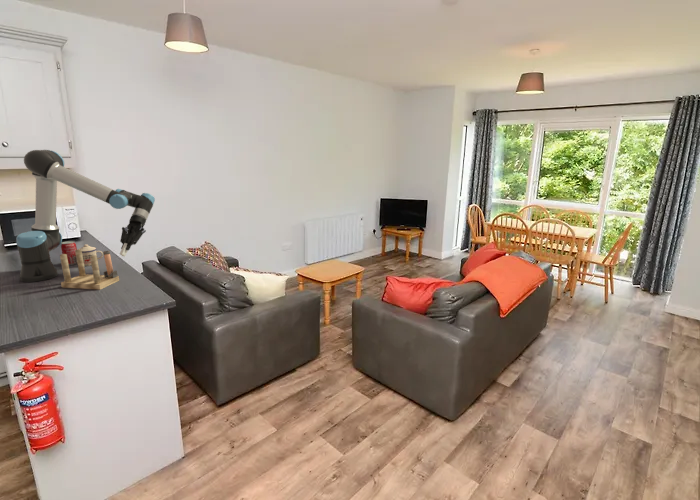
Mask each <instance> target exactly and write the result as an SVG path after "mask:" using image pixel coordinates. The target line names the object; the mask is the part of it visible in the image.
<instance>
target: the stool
mask: <svg viewBox="0 0 700 500" xmlns="http://www.w3.org/2000/svg"><path fill="white" fill-rule="evenodd" d="M75 252H76V258H77V264H76V265H77V270H78V274H79V275H77V276H74V277H71V272H70V271H71V270H70V265H68V259H67V254H62V253H60V254H59V257H60V259H59V260H60V264H61V268H62V269H61V270H62V274H63V280H64V281H62V282H60V285H61V288H66V289H80V290H81V289H85V290H102V289H104V288H107V287H108V286H110V285H114V284H115V283H117V282H119V281H120V278H119V277H120V276H119V275H118V270H113V272H112V277H109V276H107V275H106V274H107V270H105V271H104V272H103V274H100V273H101V272H100V267H99V261H98V260H99V259H97V258H98V255H97V256H96V255H94V256H90V258H91V264H92V265H91V270H92V274H89V273H87V274H86V268H85V267H86V266H84V261H83V256H82V250H81V249H80V248H77V250H75Z"/></svg>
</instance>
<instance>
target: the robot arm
mask: <svg viewBox="0 0 700 500" xmlns="http://www.w3.org/2000/svg"><path fill="white" fill-rule="evenodd" d="M23 162H24V163H23V164H24V166H25V168H26V169H27V170H28V171H30V172H31V176H33V177H34V178H35V214H34V215H35V223H34V224H32V225H31V227H30V228H31V230H29V231H26V232H22V233H20V234H18V235H17V236H16V238H15V239H16V246H17V251H18V255H19V259H20V264H21V267H20V274H19V281H20V282H23V283H33V282H34V283H35V282H41V281H46V280H51V279H53V278H55V277H57V276H58V275H59V274H58V270H57V269H56V267H55V266H54V263H52V260H51V254H50V252H51V251H54V250H55V249H57V248H58V247H59V246H61V243H62V242H63V235H62V233H61V232H60V226H58V225H57V199H58V198H57V195H58V182H60V183H61V184H64V185H66V186H68V187H71V188H73V189H76V190H77V191H79V192H82V193H84V194H87V195H88V196H91V197H94V198H95V199H97V200H100V201H102V202H105V203H106V204H109V205H110V206H111V207H112V208H113V209H115V210H121V209H124V208H126V207H127V206H128V207H131V208H133V212H132V214H131V216H130V218H129V222H128V224H127V225H126V226H125V227H124V226H122V228H121V230H122V231H121V237H120V239H119V241H120V243H121V244H122V245H121V247H120V249H121V250H120V252H119V255H120V256H121V257H126V256H127V253H128V251H129V250H130V249H131V247H132V246H133V245H134V246H135V245H136V244H137V243H138V242H139V241H140V239H141V238H142V236H143V234H144V233H147V232H146V231H147V230H146V229H145V228H144V226H145V225H146V223H147V220H148V217H149V215H150V213H151V210H152V208H153V207H154V204H155V200H156V199H155V196H154V195H152V194H151V193H148V192H144V193H143V192H142V193H141V194H140V195H139V194H137V193H134V192H130V191H127V190H125V189H121V188H117V189H112V188H110V187H108V186H106V185H104V184H101V183H100V182H97V181H95V180H93V179H90V178H88V177H87V176H84V175H82V174H80V173H77V171H76V172H75V171H74V170H71V169H69V168H67V167H65V160H64V158H63V157H62V155H61V154H59V153H58V152H57V151H54V150H50V149H34V150H30V151H28V152H27V153H26V154H25V155H24V157H23Z"/></svg>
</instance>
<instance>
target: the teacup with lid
mask: <svg viewBox="0 0 700 500" xmlns="http://www.w3.org/2000/svg"><path fill="white" fill-rule="evenodd" d="M79 249H81V250H82V256H83V261H84V267H90V266H91V267H92V264H91V258H90V256H94V255H96V256H97V260H100V259H102V258H103V257H104V254H103V252H104V251H101V250H97V248H96V247H94V246H90V245H89V244H87V243H86V244H84V245H83V246H82V247H80V248H79ZM97 253H100V254H101V255H100V256H99V257H98V255H97Z"/></svg>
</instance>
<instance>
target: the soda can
mask: <svg viewBox="0 0 700 500" xmlns="http://www.w3.org/2000/svg"><path fill="white" fill-rule="evenodd" d="M60 250H61V254H67V259H68V265H69V266H74V265H78V264H77V258H76V252H75V250H78V248H77V244H76V242H75V240H68V241H62V242H61V244H60Z"/></svg>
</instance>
